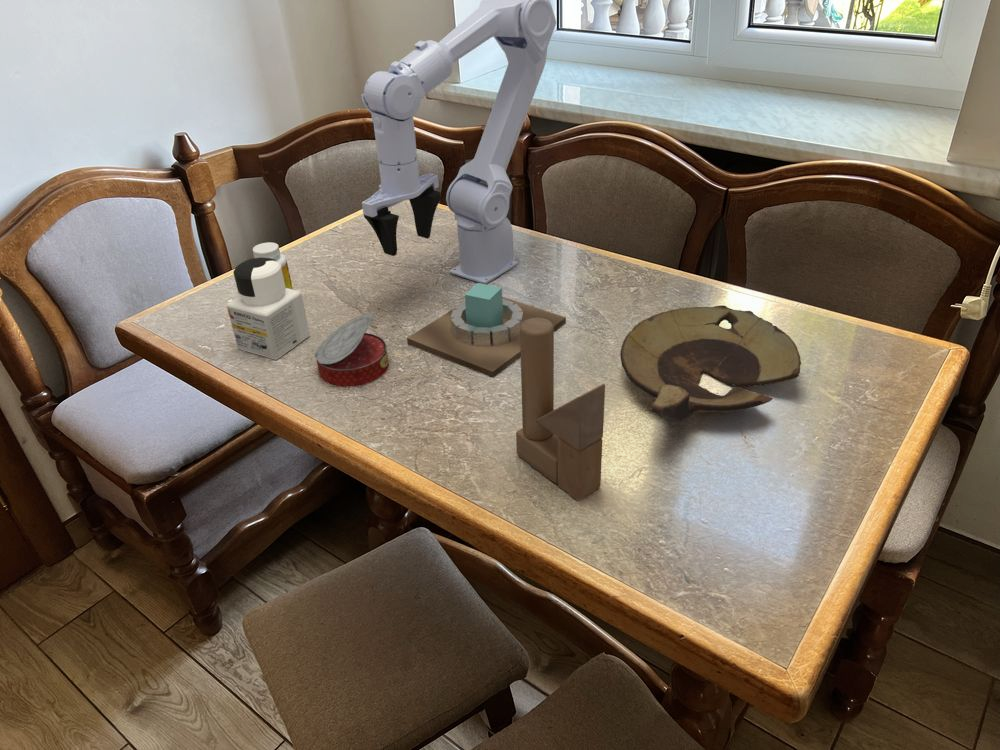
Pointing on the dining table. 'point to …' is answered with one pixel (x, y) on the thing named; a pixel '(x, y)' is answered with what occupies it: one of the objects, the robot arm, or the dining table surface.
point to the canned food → (352, 354)
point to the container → (266, 310)
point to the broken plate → (706, 359)
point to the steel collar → (487, 335)
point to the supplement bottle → (273, 252)
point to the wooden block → (557, 418)
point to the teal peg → (484, 306)
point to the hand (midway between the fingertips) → (407, 245)
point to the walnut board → (477, 358)
